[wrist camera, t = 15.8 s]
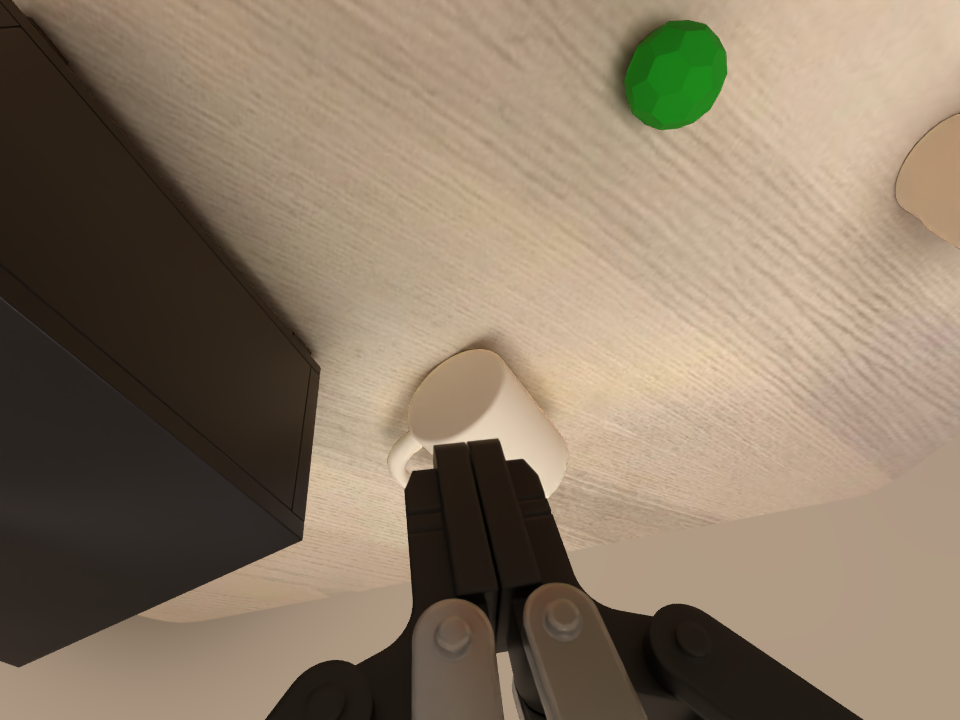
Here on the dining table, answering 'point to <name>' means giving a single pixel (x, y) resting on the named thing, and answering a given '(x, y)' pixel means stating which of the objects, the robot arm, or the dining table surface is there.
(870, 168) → the dining table surface
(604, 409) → the dining table surface
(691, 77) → the polyhedron
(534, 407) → the mug
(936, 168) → the cup
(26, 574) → the oven
